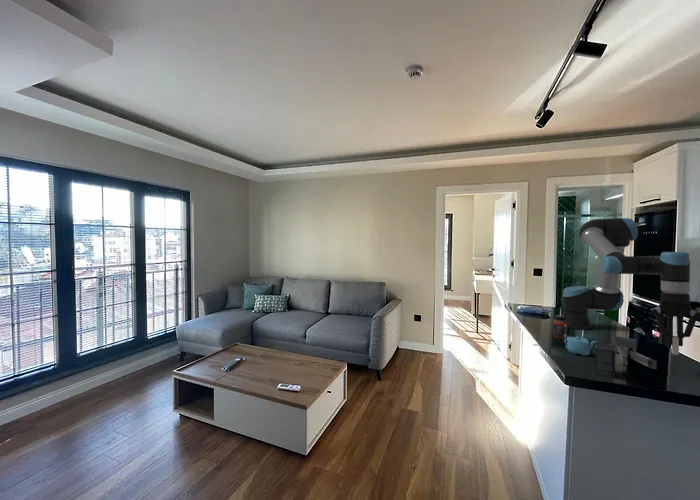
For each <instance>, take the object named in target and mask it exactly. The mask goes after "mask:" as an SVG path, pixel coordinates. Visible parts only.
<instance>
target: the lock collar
mask: <svg viewBox="0 0 700 500" xmlns="http://www.w3.org/2000/svg"><path fill="white" fill-rule="evenodd" d="M613 344H614V349H615V354H617V353H618V352H617V351H618V349H617V347H623V348H627V349H632V351H634V352H637V351H638V350H637V349H638V348H637V347H638V342H637V339H636V338H630V337H622V336H615V335H614V336H613ZM637 353H638V352H637Z"/></svg>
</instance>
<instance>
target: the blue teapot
mask: <svg viewBox="0 0 700 500" xmlns="http://www.w3.org/2000/svg"><path fill="white" fill-rule="evenodd" d="M563 342H564V344H565V349H567V351H568V353H570V354H571V355H573V356H575V355H577V354H579V355H581V356H583V357H586V356H590V350H591V349H592V348H593V346H594V344H596V342H599V341H597V340H592V341H591V342H590V341H589V340H588V339H587V338H585V337H580V336H568V335H567V338H566V339H563Z"/></svg>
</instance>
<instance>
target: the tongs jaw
mask: <svg viewBox="0 0 700 500" xmlns="http://www.w3.org/2000/svg"><path fill="white" fill-rule="evenodd" d="M629 358H630V359H631V360H632V361H633V360H634V361H636V362H638V363H639V364H641V365H644V366H646V367H647V368H650V369H652V370H657V366H658V365H657V360H656V359H655V360H654V359H653V358H651V357H648V356H645V355H643V354H641V353H639V352H634V351H633V350H630V351H629Z"/></svg>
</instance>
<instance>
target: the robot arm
mask: <svg viewBox="0 0 700 500" xmlns="http://www.w3.org/2000/svg"><path fill="white" fill-rule="evenodd" d="M638 232H639V230H638V226H637V223H636V222H635V220H633V219H632V218H628V217H627V218H624V217H619V218H617V217H616V218H613V217H612V218H596V219H591V220H589V221H586V222H585V223H583V224H582V225H581V227H580V228H579V231H578V236H579V239H580V240H581V241H582V243H584V244H586V245H588V246H589V247H590V248H591V250H593V252H594V253H595V254H596V255H597V257H599V258H600V259H601V260H600V266H599V270H598V277H597V282H596V283H595V284H594V285H593V287H592V288H589V287H588V286H586V285H585V286H584V285H583V286H582V285H581V286H580V285H575V286H574V285H572V286H567V287H565V288H563V291H562V293H563V294H562V301H563V302H562V303H563V310H562V311H563V312H562V314H561V316H564V317H565V321H567V328H568V327H569V328H570V329H574V330H591V329H592V328H593V324H592V321H591V319H590V315H589V310H597V311H599V310H601V311H618V310H620V309H621V308H622V306H623V304H624V299H625V298H624V293H623V291H621V289H620V287H619V286H618V285H619V279H620V275H659V276H660V291H661V292H660V303H659V304H658V306H656V307H654V308H653V307H652V308H651V309H650V310H651V311H652V313H654V315H655V318H656V321H657V325H658V327H659V330H660V333H661V334H662V335H665V336H667V338H666V339H667V344H668V346H669V345H671V348H670V349H671V350H670V351H671V352H670V353H671V354H672V355H674V356H679V355H680V350H679V349H680V347H683V345H684V338H690V337H691V335H692V333H693V330H694V328H695V324H696V322H697V319H698V318H699V317H700V312H698V311H696V310H694V309H693V308H692V306H691V298H690V297H691V295H690V292H691V289H690V286H691V285H690V283H691V282H690V281H691V279H690V278H691V276H690V275H691V260H690V254H689V253H688V252H686V251H662V252H661V253H660V255H649V256H646V255H642V256H639V255H638V256H636V255H634V256H632V255H631V256H629V255H625V249H626V248H627V247H629V246H630V243H631V242H632V241H634V240H635V241H636V240H637V238H638V234H639V233H638ZM661 312H662V313H664V314H665V315H666V322H667V323H666V328H665V325H664V322H663V319H662V316H661V314H660V313H661ZM688 314H689V315H690V316H689V318H688V321H687V323H686V326H685V328H684V317H685V316H687V315H688ZM674 317H676V335H674ZM569 328H568V329H569Z"/></svg>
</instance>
